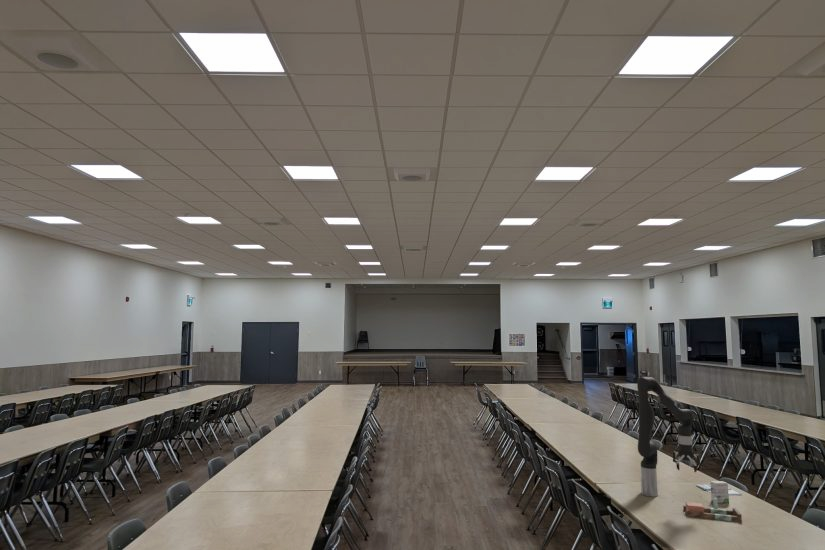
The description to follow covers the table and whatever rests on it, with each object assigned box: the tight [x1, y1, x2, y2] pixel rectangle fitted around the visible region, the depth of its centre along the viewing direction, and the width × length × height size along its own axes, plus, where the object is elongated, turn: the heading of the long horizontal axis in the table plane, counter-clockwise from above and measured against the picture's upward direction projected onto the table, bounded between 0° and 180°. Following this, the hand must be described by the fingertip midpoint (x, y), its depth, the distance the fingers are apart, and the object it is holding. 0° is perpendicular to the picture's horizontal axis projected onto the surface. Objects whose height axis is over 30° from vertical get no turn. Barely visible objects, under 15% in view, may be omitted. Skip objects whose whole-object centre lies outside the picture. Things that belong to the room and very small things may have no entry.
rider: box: [685, 501, 705, 513], centre depth 287 cm, size 8×6×6 cm
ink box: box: [709, 480, 730, 504], centre depth 309 cm, size 8×5×12 cm, turn 93°
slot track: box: [682, 504, 743, 523], centre depth 284 cm, size 27×11×4 cm, turn 72°
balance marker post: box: [712, 498, 719, 509], centre depth 292 cm, size 2×2×7 cm
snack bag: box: [695, 484, 742, 496], centre depth 330 cm, size 19×20×2 cm
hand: (686, 470), depth 296 cm, fingers open, 8 cm apart
